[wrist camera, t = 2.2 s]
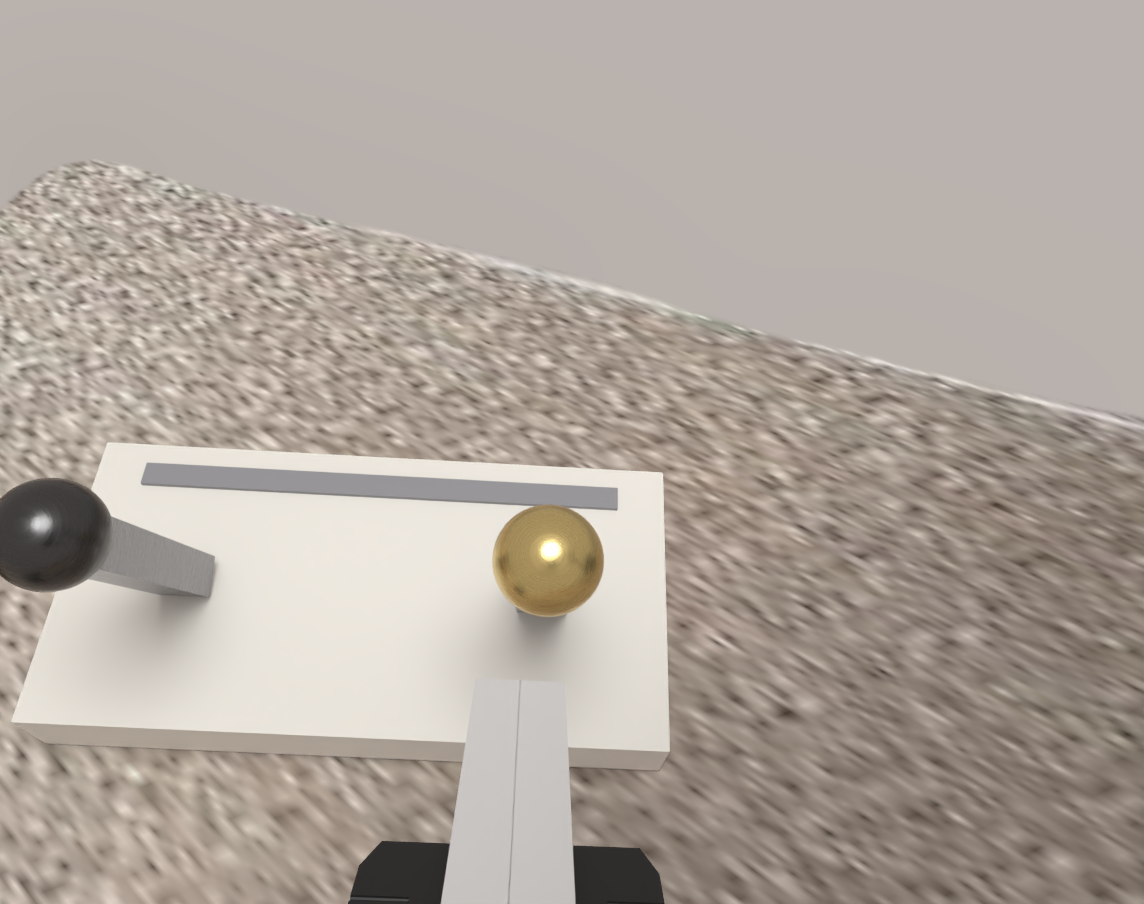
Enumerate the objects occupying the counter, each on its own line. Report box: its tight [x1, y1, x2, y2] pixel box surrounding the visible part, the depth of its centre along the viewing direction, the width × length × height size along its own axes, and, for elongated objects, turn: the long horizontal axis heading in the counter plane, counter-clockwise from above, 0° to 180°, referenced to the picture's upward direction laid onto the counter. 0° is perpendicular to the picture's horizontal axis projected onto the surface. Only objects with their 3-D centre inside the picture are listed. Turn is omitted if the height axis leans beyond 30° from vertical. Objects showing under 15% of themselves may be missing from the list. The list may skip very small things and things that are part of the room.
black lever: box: [0, 478, 215, 597], centre depth 31 cm, size 3×3×12 cm
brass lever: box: [492, 505, 604, 617], centre depth 31 cm, size 3×3×12 cm
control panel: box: [11, 442, 670, 771], centre depth 38 cm, size 12×24×3 cm, turn 88°
